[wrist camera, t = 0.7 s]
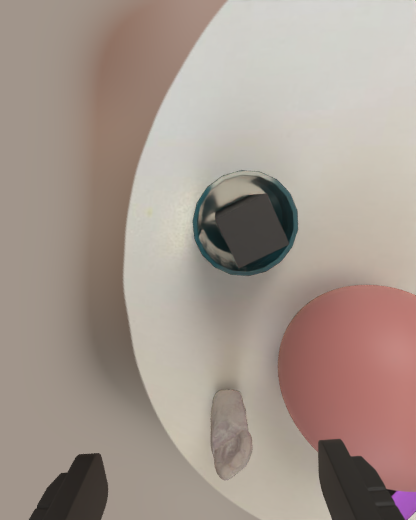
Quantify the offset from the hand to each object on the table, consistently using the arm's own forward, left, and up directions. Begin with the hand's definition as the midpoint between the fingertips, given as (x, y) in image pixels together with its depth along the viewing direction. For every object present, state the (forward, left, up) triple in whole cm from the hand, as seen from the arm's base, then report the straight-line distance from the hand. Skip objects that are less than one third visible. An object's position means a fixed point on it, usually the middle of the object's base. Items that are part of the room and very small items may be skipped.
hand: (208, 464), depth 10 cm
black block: (-6, +5, -21) cm, 22 cm away
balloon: (+10, +14, -21) cm, 27 cm away
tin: (-6, +5, -21) cm, 22 cm away
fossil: (+14, -2, -21) cm, 25 cm away
